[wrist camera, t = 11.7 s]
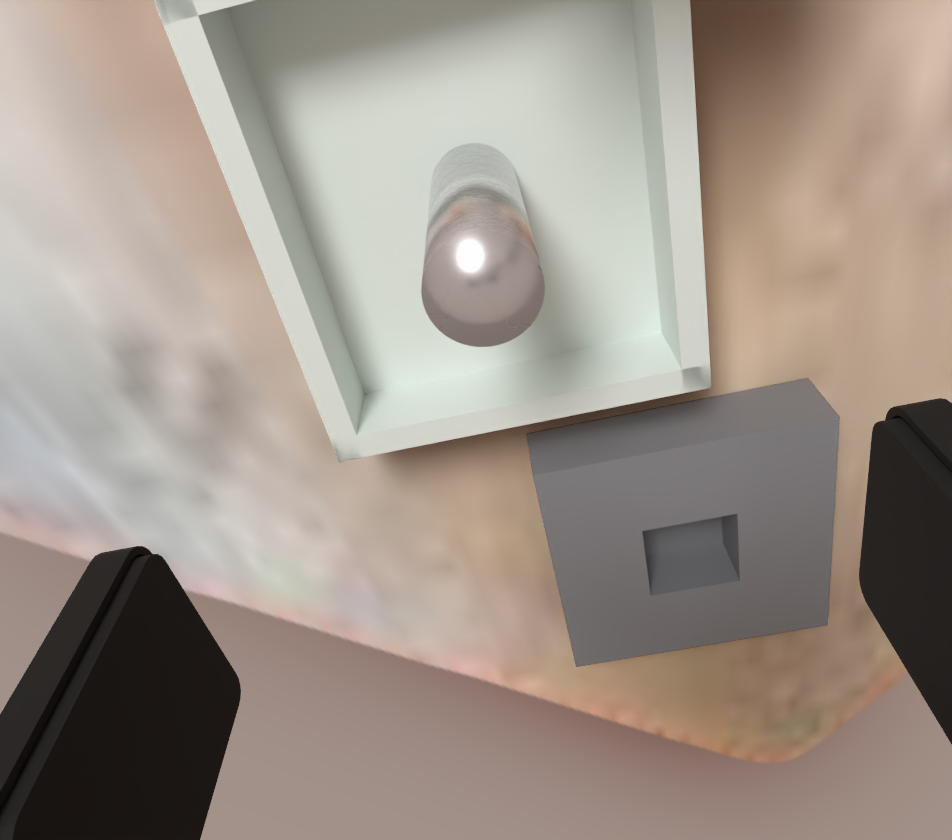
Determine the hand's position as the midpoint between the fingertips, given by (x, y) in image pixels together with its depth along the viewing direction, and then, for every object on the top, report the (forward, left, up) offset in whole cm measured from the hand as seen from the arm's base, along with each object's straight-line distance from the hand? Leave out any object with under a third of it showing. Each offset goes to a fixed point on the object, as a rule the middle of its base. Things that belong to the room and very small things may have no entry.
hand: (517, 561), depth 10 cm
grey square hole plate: (-6, +17, -19) cm, 26 cm away
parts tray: (0, 0, -19) cm, 19 cm away
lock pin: (0, 0, -19) cm, 19 cm away
